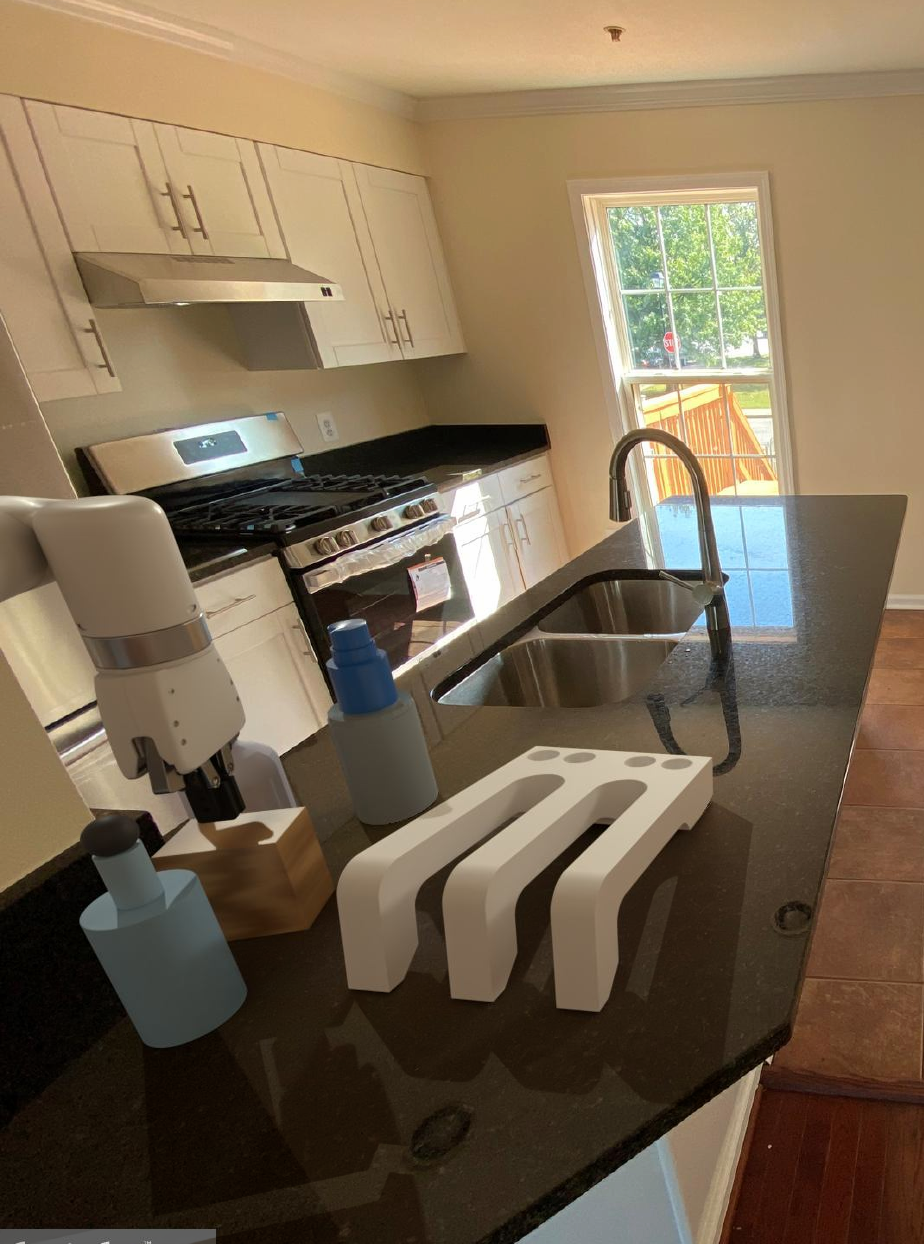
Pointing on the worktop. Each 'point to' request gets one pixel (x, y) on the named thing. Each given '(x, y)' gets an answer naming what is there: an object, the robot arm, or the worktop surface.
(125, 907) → the bottle
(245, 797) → the soap bottle
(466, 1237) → the worktop surface
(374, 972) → the bracket
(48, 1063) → the worktop surface
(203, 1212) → the worktop surface
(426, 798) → the spray bottle
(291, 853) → the oak block
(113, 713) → the robot arm
